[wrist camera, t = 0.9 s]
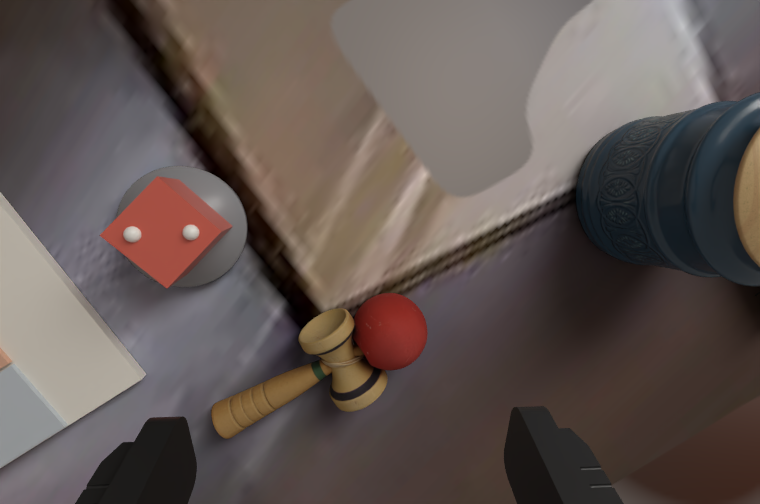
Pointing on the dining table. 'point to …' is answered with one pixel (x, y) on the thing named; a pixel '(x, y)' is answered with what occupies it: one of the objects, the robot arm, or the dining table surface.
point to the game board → (49, 345)
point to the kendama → (337, 361)
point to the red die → (180, 226)
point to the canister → (679, 191)
